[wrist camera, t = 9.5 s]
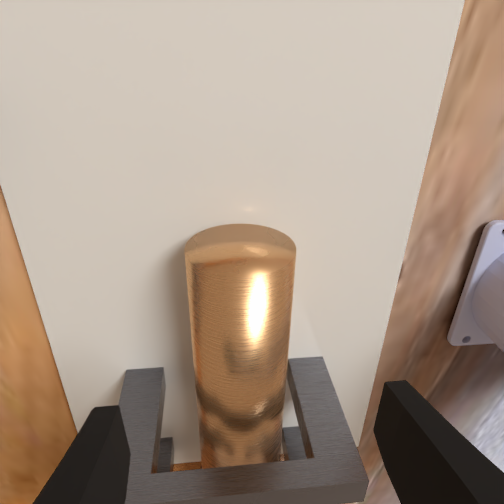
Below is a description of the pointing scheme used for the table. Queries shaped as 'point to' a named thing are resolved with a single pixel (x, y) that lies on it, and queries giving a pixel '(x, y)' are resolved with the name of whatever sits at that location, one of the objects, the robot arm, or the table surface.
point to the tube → (240, 339)
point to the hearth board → (214, 172)
